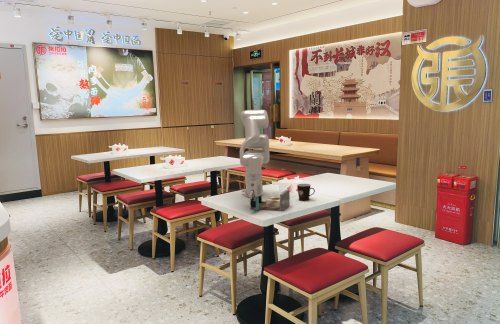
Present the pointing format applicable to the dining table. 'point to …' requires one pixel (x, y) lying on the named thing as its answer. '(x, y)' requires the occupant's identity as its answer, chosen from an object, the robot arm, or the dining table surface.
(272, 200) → the slider block
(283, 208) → the rail board
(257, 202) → the dowel
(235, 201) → the dining table surface
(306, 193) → the coffee mug
